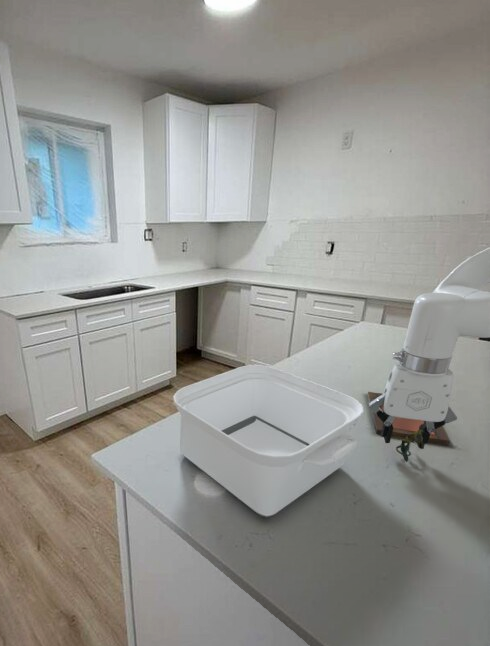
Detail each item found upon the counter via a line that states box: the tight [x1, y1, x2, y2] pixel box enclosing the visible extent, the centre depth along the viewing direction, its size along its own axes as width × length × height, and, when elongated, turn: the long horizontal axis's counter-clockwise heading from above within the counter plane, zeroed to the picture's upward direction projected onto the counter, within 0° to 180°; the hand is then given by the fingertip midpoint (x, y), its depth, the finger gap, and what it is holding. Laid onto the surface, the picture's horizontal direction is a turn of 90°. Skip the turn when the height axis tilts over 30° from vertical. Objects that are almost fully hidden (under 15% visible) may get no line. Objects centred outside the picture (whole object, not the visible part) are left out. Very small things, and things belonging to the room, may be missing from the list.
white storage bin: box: [172, 364, 365, 518], centre depth 72 cm, size 34×29×15 cm
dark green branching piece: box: [391, 429, 425, 463], centre depth 74 cm, size 8×6×6 cm
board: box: [366, 391, 451, 446], centre depth 89 cm, size 14×20×1 cm
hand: (402, 441), depth 74 cm, fingers closed on dark green branching piece, 5 cm apart
